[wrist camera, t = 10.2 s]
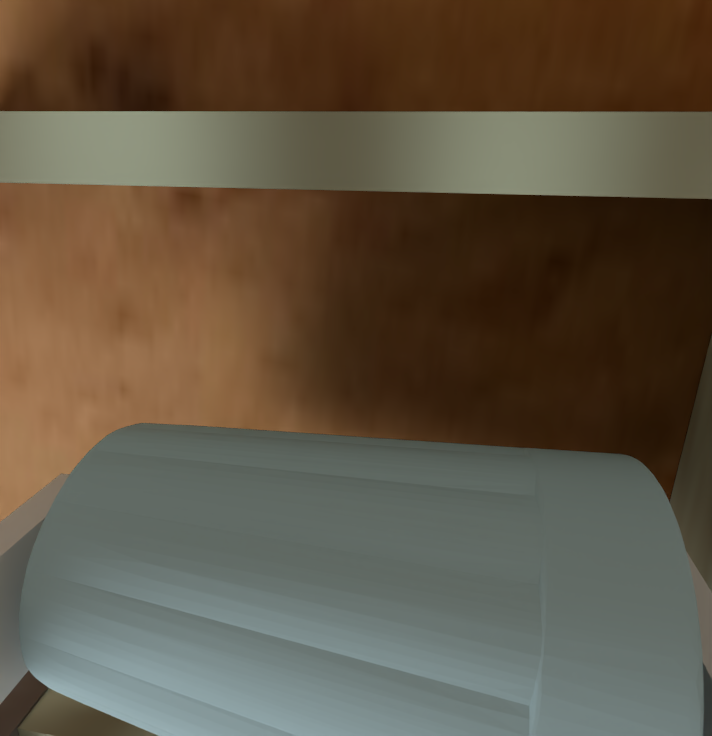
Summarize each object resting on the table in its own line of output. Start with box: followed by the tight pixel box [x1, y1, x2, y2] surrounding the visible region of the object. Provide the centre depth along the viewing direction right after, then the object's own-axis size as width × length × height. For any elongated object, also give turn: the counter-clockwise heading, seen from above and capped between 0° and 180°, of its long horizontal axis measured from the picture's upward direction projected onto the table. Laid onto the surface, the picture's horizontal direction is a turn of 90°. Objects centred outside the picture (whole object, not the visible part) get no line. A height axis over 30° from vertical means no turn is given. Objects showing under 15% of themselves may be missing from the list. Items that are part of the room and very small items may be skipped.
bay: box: [0, 111, 712, 736], centre depth 14 cm, size 20×18×6 cm
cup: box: [19, 423, 704, 736], centre depth 11 cm, size 8×8×10 cm
